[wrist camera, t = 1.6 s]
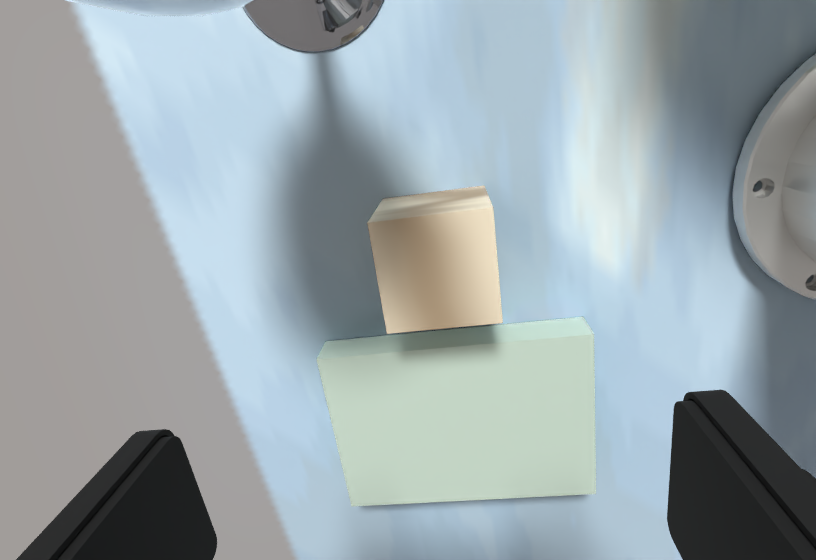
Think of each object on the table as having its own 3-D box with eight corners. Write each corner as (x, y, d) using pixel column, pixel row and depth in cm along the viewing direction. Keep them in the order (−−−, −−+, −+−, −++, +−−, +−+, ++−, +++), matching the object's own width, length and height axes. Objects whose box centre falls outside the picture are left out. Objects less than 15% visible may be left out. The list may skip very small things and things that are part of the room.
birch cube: (484, 185, 23) (493, 207, 19) (492, 280, 25) (502, 322, 20) (383, 198, 24) (367, 222, 19) (397, 290, 26) (386, 333, 21)
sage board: (583, 316, 25) (593, 334, 23) (586, 468, 28) (595, 493, 27) (325, 341, 27) (316, 359, 25) (357, 481, 30) (351, 506, 28)
